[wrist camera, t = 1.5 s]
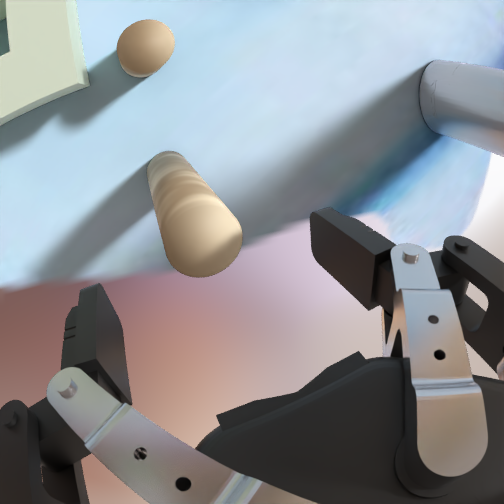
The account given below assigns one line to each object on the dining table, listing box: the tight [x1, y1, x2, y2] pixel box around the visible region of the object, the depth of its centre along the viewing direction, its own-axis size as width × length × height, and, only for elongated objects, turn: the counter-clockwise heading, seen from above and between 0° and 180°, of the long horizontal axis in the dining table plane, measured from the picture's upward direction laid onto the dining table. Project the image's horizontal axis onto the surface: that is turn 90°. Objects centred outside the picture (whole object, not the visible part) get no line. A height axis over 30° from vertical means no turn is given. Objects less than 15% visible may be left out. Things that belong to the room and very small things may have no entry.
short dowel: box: [117, 20, 175, 78], centre depth 15 cm, size 3×3×5 cm
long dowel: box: [147, 151, 242, 277], centre depth 17 cm, size 3×3×12 cm
